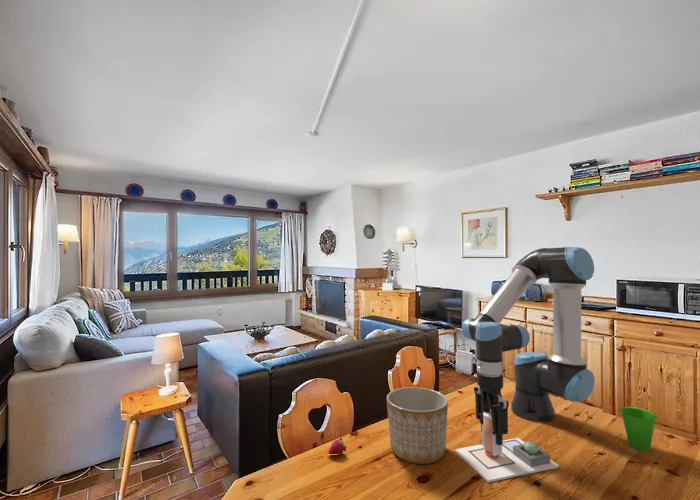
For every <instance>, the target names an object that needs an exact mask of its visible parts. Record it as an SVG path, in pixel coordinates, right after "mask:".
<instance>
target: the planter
mask: <svg viewBox="0 0 700 500" xmlns="http://www.w3.org/2000/svg"><path fill="white" fill-rule="evenodd" d="M448 400H449V399H448V398H447V397H446V396H445V395H444V394H443V393H441V392H439V391H436V390H434V389H430V388H426V387H419V386H418V387H416V386H415V387H414V386H408V387H406V386H405V387H400V388H396V389H394V390H391V391H390V392H389V393H388V394H387V395H386V406H387V407H386V408H387V418H388V419H387V420H388V429H389V440H390V447H391V449H392V452H393V453H394V454H395V455H396V456H397V457H399V458H400V459H401V458H402V459H401V460H403V459H404V461H405V460H406V461H405V462H408V461H409V463H411V462H412V464H417V463H418V464H421V465H426V464H432V463H435V462H437V461H439V460H441V459H442V458H443V457H444V455H445V453H446V448H447V429H448V428H447V427H448V425H447V424H448V408H449V406H448V405H449V404H448V403H449V401H448Z"/></svg>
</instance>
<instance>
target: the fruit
mask: <svg viewBox="0 0 700 500" xmlns="http://www.w3.org/2000/svg"><path fill="white" fill-rule="evenodd" d="M347 448H348V447H347V446H346V445H345V443H344V441H343V438H342V437H341V436H340V438H339V439H335V440H333V442H332V443H331V446H330V447H329V449H328V451H327V454H328V453H329V454H339V453H341V454H343V452H346V451H347Z"/></svg>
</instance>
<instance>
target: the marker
mask: <svg viewBox="0 0 700 500" xmlns="http://www.w3.org/2000/svg"><path fill="white" fill-rule="evenodd" d="M483 424H484V448H485V454H486V455H488V456H490V457H498V456H499V455H496V456H494V455H493V443H492V432H494V427H493V421H492V415H491V410H490V411H485V412H483Z"/></svg>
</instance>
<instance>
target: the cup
mask: <svg viewBox="0 0 700 500" xmlns="http://www.w3.org/2000/svg"><path fill="white" fill-rule="evenodd" d="M619 411H620V412H621V415H622V420H623V425H624V429H625V432H626V433H625V434H626V439H627V442H628V445H629V447H630V448H632V449H633V450H636V451H637V452H638V451H639V452H644V453H645V452H646V453H647V452H650V450H651V446H652V441H653V440H652V439H653V435H654V429H655V424H656V423H655V422H656V420H657V419H658V416H657V415H656V414H655V413H653V412H652V411H649V410H646V409H645V408H644V409H643V408H640V407H634V406H622V407H620V409H619Z"/></svg>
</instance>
